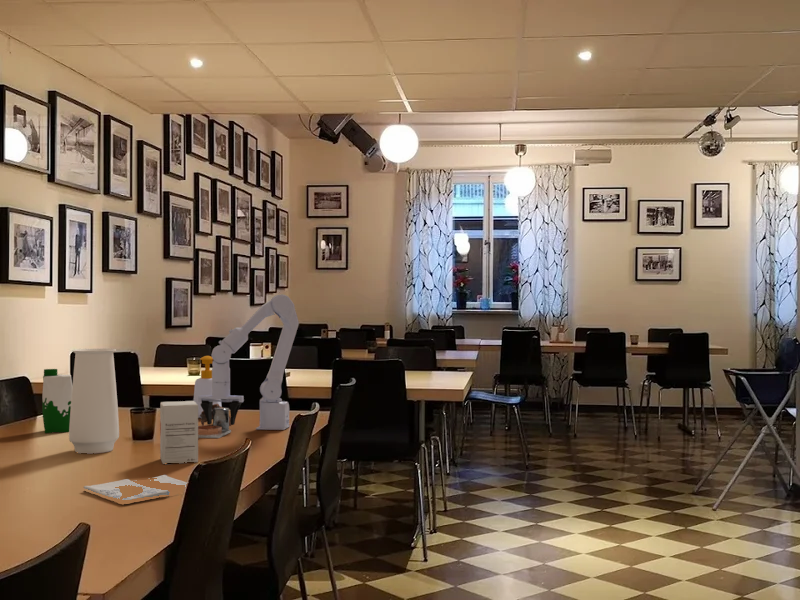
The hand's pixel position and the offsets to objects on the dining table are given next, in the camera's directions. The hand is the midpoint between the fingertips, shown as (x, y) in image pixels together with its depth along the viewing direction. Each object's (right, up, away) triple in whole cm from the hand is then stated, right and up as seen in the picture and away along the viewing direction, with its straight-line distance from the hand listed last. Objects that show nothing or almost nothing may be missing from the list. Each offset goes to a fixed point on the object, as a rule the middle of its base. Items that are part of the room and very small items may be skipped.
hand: (221, 424), depth 260 cm
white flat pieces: (+3, -2, -86) cm, 86 cm away
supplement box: (+1, -2, -52) cm, 52 cm away
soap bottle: (-12, -3, +35) cm, 37 cm away
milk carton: (-52, -2, -1) cm, 52 cm away
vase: (-27, -2, -37) cm, 46 cm away
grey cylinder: (0, -2, 0) cm, 2 cm away
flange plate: (-3, -2, -9) cm, 10 cm away
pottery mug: (-4, -2, +12) cm, 13 cm away
